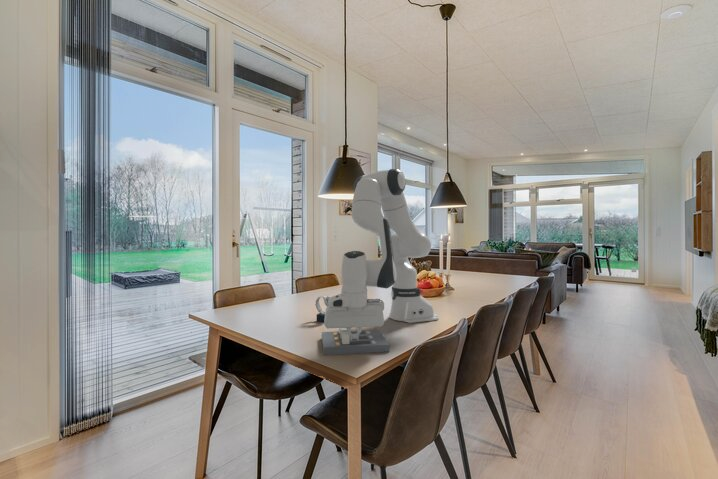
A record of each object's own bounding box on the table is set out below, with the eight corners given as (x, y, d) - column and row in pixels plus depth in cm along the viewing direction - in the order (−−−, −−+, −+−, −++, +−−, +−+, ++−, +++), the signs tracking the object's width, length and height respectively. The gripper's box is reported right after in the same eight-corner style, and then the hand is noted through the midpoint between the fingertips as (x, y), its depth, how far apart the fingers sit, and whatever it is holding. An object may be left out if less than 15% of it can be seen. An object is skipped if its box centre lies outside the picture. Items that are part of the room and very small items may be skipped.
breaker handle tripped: (348, 341, 123) (348, 332, 122) (349, 344, 120) (349, 334, 120) (341, 341, 122) (341, 332, 122) (342, 344, 120) (342, 334, 119)
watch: (328, 323, 155) (328, 298, 155) (313, 320, 159) (313, 296, 158) (335, 320, 160) (335, 295, 160) (319, 317, 164) (319, 294, 163)
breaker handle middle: (346, 336, 128) (346, 327, 128) (347, 338, 125) (347, 329, 125) (340, 336, 128) (340, 328, 127) (340, 339, 125) (340, 330, 125)
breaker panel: (379, 336, 137) (379, 329, 137) (389, 351, 120) (389, 344, 120) (321, 338, 134) (321, 331, 134) (323, 355, 117) (323, 347, 117)
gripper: (382, 296, 125) (382, 335, 126) (324, 298, 122) (324, 338, 123) (386, 300, 119) (386, 341, 120) (324, 302, 116) (324, 344, 117)
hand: (354, 339), depth 121 cm, fingers closed
